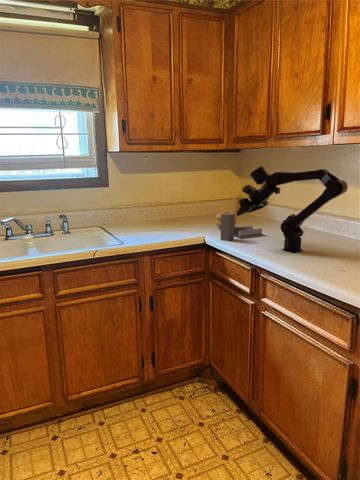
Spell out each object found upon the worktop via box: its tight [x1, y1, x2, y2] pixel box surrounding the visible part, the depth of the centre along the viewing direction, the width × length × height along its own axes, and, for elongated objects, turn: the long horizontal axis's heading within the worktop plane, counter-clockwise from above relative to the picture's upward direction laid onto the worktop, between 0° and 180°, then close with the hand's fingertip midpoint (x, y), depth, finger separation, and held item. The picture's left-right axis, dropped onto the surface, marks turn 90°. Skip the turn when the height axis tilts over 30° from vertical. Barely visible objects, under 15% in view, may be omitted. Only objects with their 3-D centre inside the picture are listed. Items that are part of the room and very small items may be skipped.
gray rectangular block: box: [220, 212, 235, 242], centre depth 187 cm, size 5×5×13 cm
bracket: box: [234, 225, 266, 240], centre depth 198 cm, size 13×15×4 cm
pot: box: [215, 210, 237, 229], centre depth 214 cm, size 12×12×10 cm
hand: (242, 213), depth 180 cm, fingers open, 9 cm apart
